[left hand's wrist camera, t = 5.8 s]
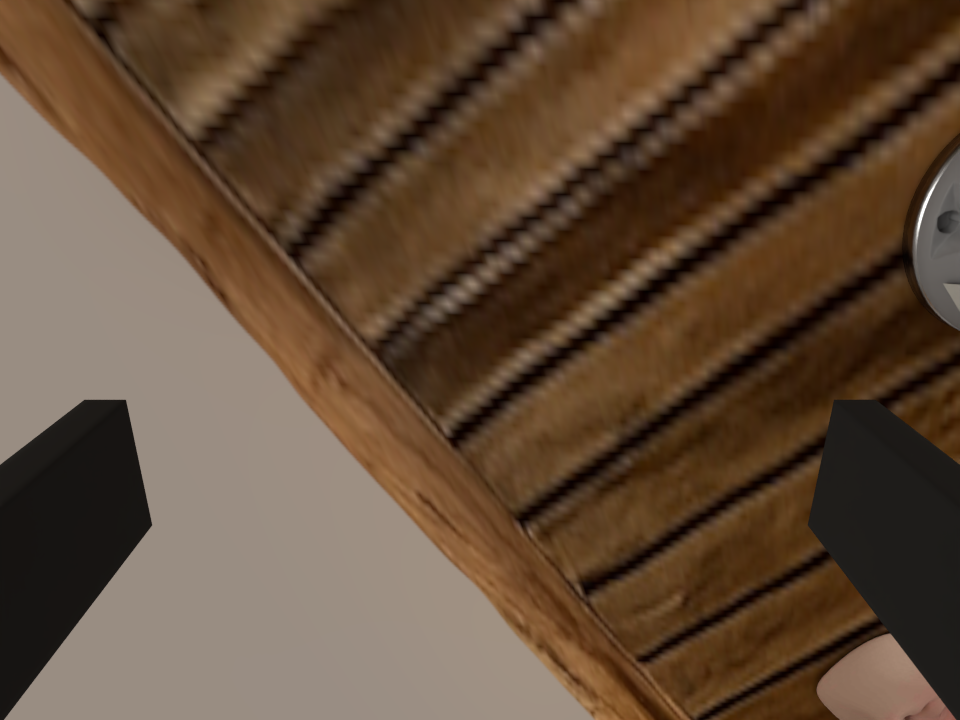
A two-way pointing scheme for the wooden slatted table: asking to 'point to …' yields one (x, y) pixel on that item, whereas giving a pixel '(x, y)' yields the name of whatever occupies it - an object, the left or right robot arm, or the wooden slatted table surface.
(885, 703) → the anatomical model
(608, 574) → the wooden slatted table surface
